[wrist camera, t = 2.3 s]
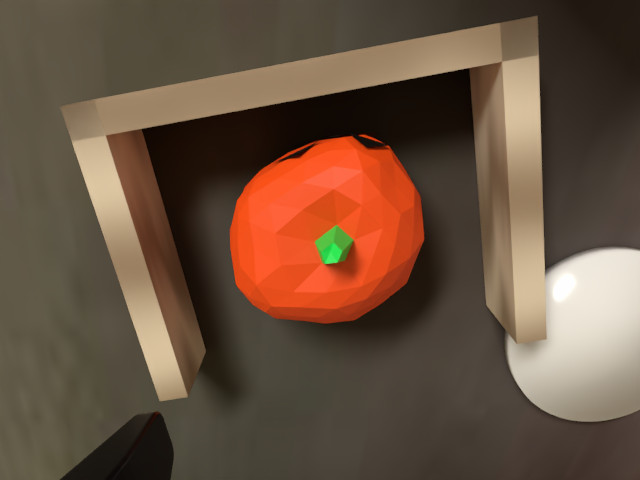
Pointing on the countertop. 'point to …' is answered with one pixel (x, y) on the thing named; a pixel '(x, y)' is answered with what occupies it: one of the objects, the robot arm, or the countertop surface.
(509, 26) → the wooden frame
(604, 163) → the countertop surface
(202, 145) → the countertop surface
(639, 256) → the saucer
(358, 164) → the pumpkin
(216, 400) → the countertop surface
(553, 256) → the countertop surface
